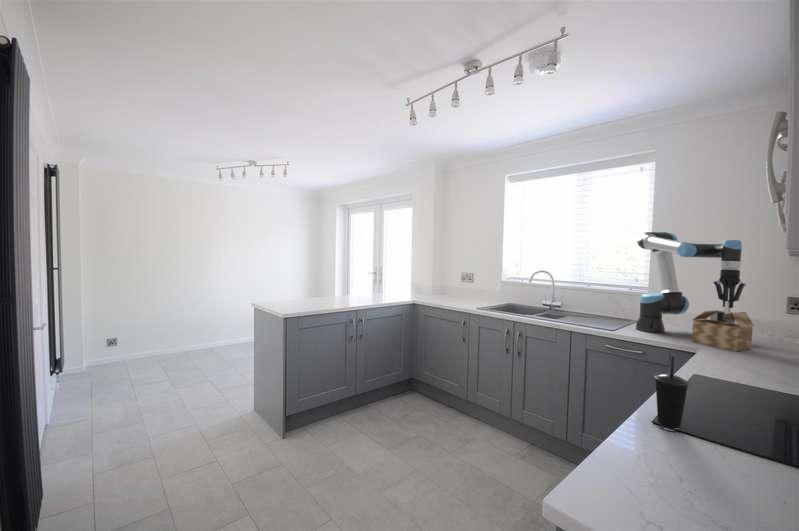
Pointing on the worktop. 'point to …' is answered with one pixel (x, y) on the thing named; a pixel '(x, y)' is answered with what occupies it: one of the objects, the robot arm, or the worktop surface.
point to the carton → (722, 335)
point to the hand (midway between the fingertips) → (727, 313)
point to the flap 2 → (742, 319)
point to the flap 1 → (705, 315)
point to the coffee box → (722, 317)
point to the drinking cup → (670, 398)
